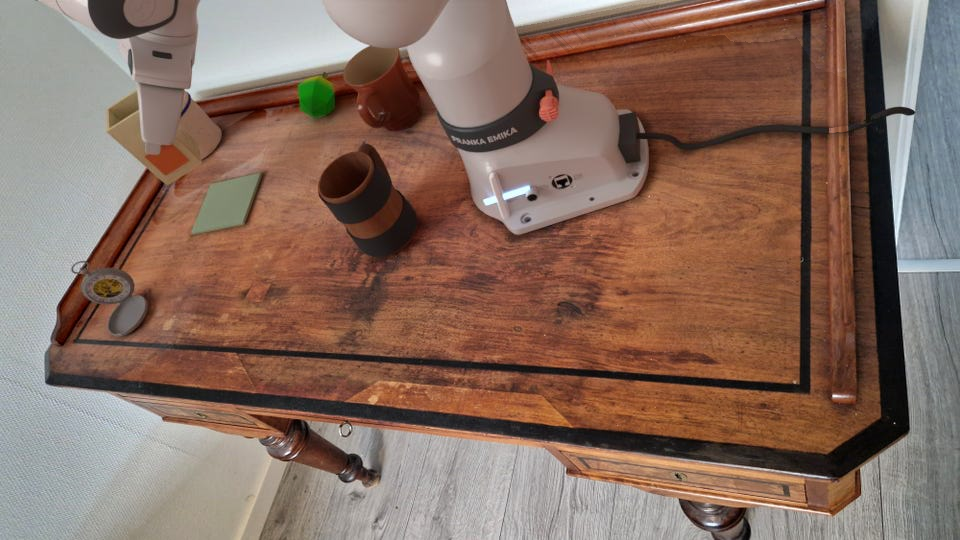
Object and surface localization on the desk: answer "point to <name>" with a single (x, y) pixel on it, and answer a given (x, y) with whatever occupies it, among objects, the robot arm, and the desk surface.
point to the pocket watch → (114, 297)
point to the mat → (227, 204)
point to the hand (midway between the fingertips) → (150, 137)
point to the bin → (128, 134)
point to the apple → (316, 96)
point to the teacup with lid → (199, 126)
